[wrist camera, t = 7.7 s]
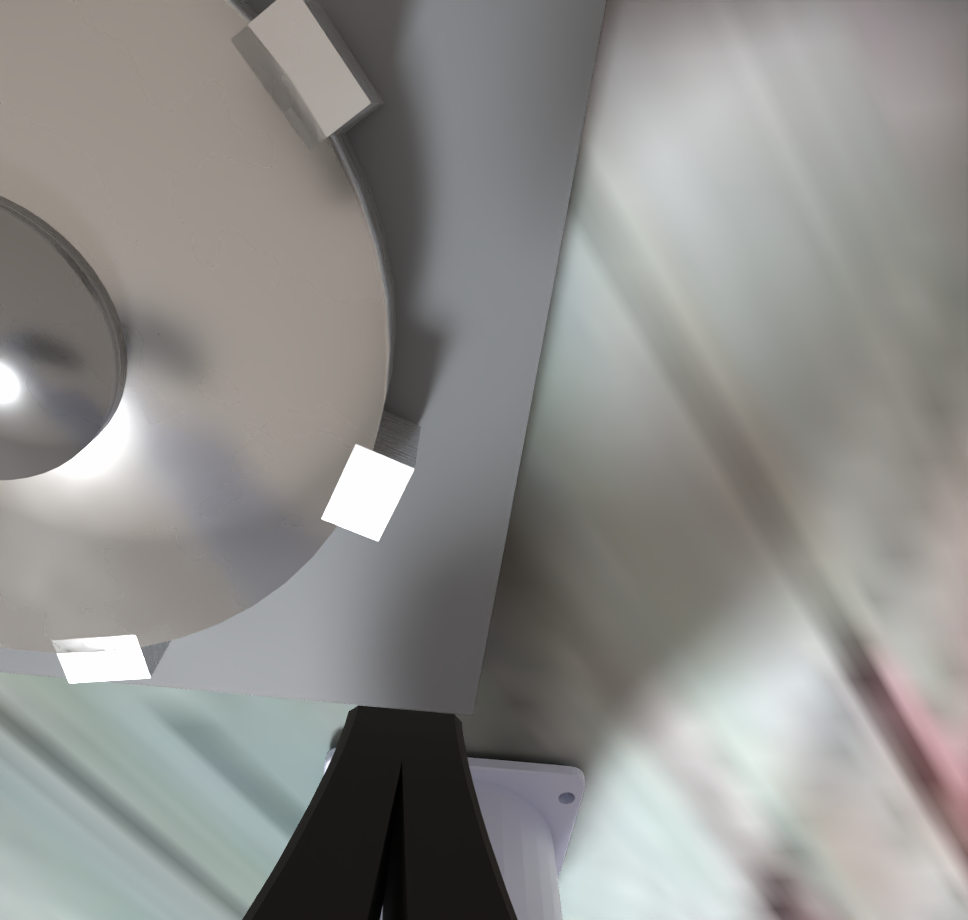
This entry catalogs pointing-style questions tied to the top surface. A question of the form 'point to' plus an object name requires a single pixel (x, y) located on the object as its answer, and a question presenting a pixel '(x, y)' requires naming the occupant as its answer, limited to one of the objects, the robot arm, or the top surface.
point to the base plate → (429, 355)
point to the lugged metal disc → (183, 320)
